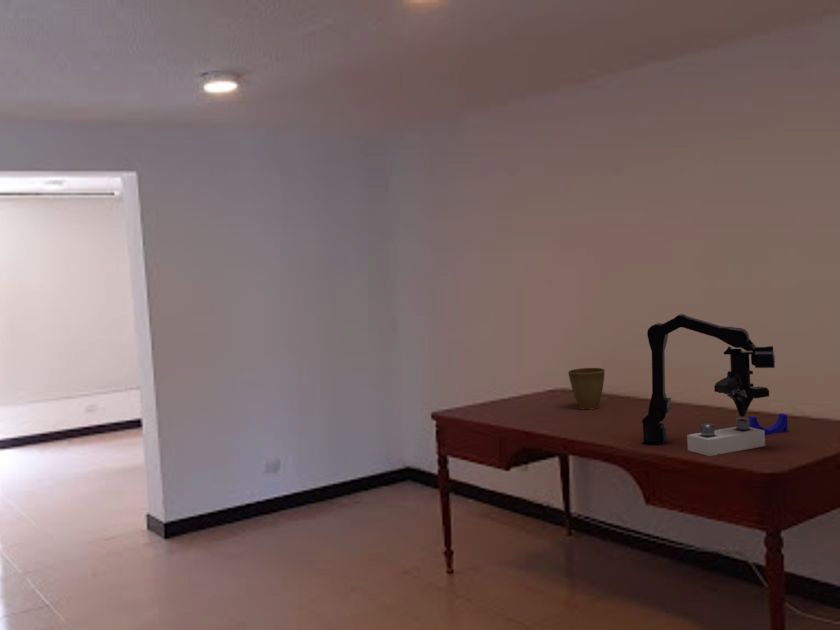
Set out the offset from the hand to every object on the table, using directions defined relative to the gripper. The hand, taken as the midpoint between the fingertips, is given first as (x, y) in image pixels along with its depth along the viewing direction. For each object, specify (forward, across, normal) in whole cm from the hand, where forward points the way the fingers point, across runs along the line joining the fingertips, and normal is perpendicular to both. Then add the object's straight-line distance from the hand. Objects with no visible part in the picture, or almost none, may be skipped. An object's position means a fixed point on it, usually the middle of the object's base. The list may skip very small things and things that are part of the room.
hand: (742, 416), depth 275 cm
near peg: (+6, 0, -14) cm, 15 cm away
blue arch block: (+10, -8, +19) cm, 23 cm away
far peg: (+6, 0, 0) cm, 6 cm away
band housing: (+9, 0, -7) cm, 12 cm away
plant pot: (+10, -89, -1) cm, 90 cm away
